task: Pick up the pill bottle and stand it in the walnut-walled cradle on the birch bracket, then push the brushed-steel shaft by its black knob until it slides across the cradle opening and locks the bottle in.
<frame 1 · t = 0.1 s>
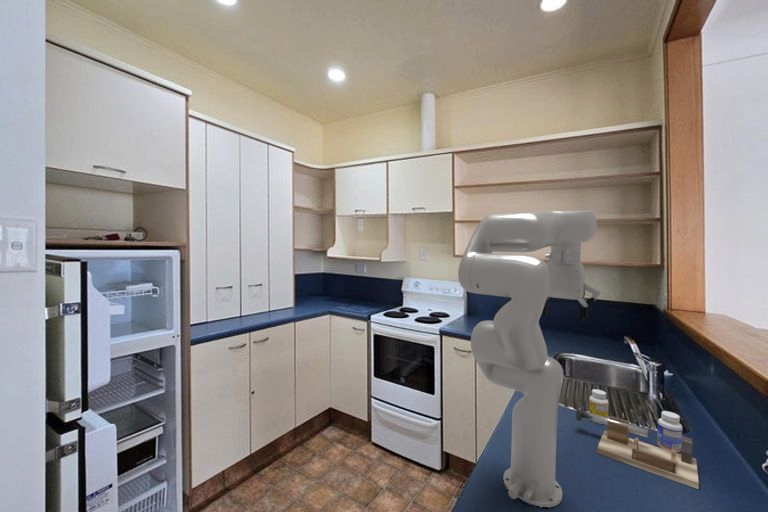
hand: (563, 318, 95), 37 cm above the worktop, tool pointing down, fingers open, 9 cm apart
shaft bracket: (654, 455, 92), on the worktop
steel shaft: (610, 422, 99), point 6 cm above the worktop, slide at 0.0 cm
supplement bottle: (598, 420, 111), on the worktop
pill bottle: (668, 448, 96), on the worktop
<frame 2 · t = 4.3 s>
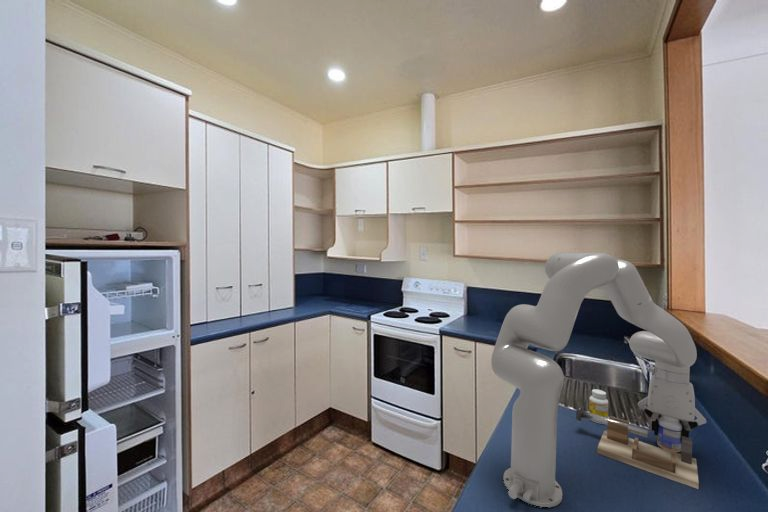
hand: (669, 437, 96), 3 cm above the worktop, tool pointing down, fingers closed on pill bottle, 5 cm apart
pill bottle: (668, 448, 96), on the worktop, touching gripper
everything else where it was.
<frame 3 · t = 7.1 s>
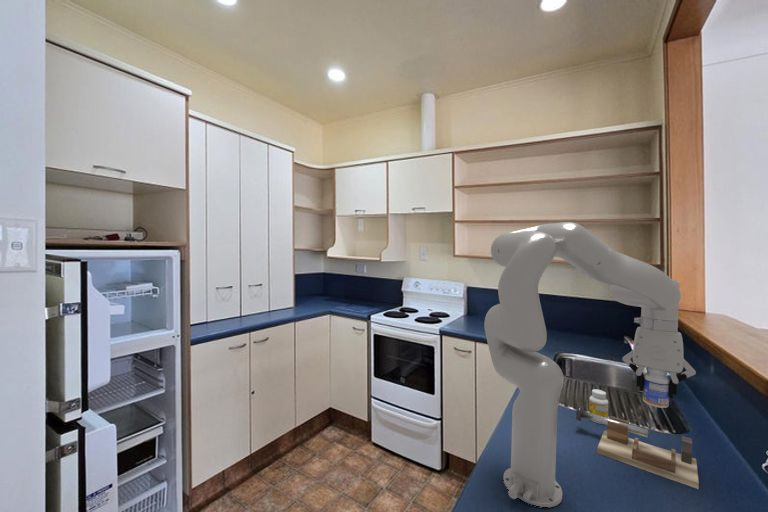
hand: (655, 392, 88), 19 cm above the worktop, tool pointing down, fingers closed on pill bottle, 5 cm apart
pill bottle: (655, 404, 88), point 16 cm above the worktop, touching gripper
everything else where it was.
when the fingers open (6 cm above the worktop, at t = 9.9 s): pill bottle drops 1 cm, resting on shaft bracket.
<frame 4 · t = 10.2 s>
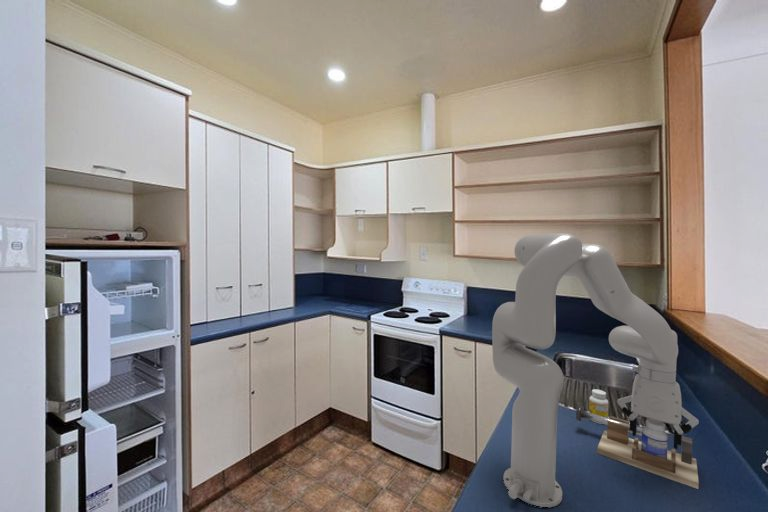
hand: (654, 439, 88), 6 cm above the worktop, tool pointing down, fingers open, 8 cm apart
pill bottle: (653, 459, 88), point 1 cm above the worktop, touching shaft bracket
everything else where it was.
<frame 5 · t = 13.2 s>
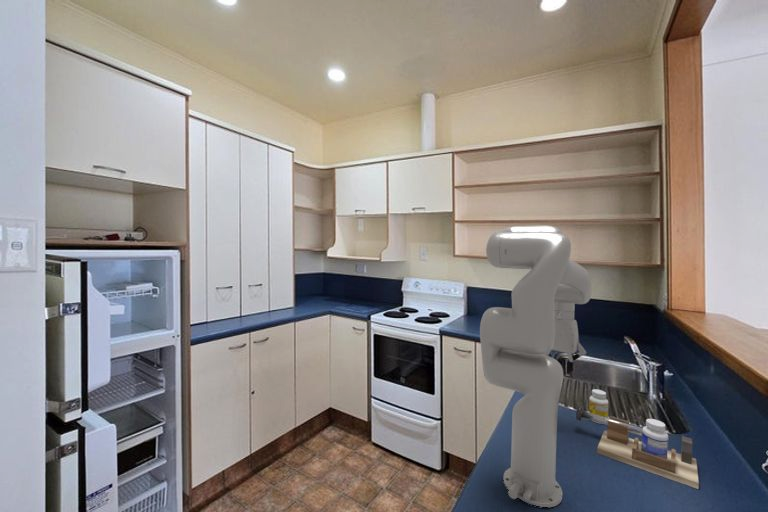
hand: (559, 370, 108), 17 cm above the worktop, tool pointing down, fingers open, 5 cm apart
nothing on the worktop moved.
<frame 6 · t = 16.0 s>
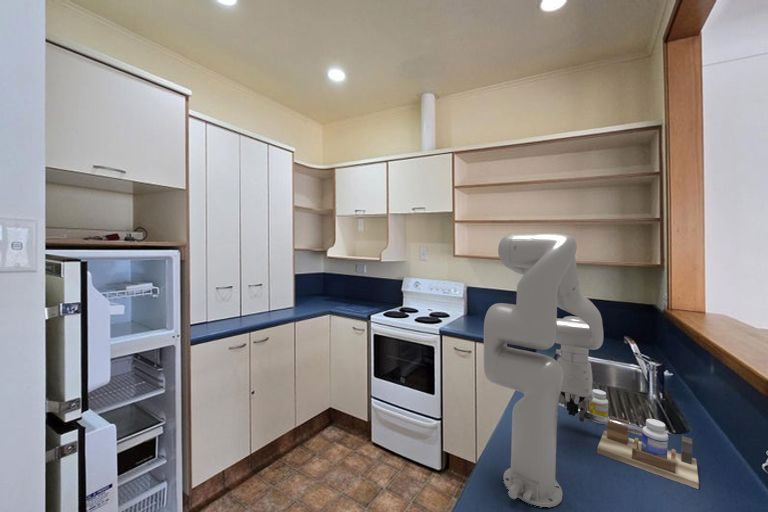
hand: (572, 413, 105), 5 cm above the worktop, tool pointing down, fingers closed
steel shaft: (614, 423, 98), point 6 cm above the worktop, slide at 0.8 cm, touching gripper
everything else where it was.
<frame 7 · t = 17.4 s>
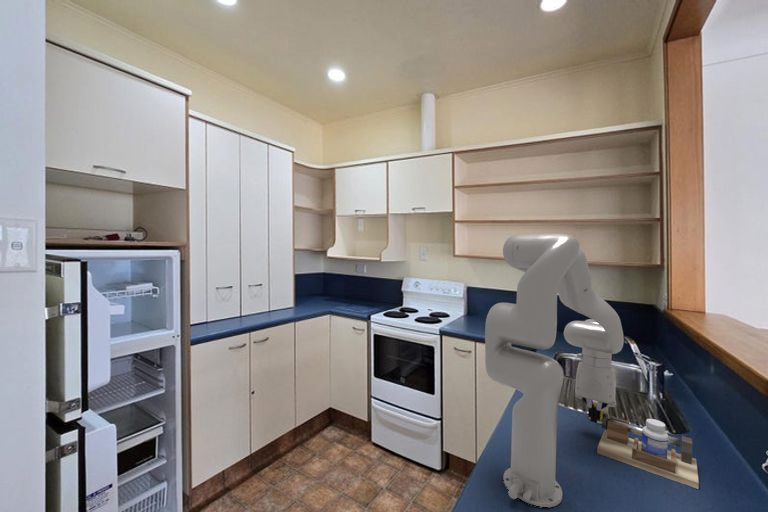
hand: (594, 420, 101), 5 cm above the worktop, tool pointing down, fingers closed
steel shaft: (639, 431, 94), point 6 cm above the worktop, slide at 6.7 cm, touching gripper
everything else where it was.
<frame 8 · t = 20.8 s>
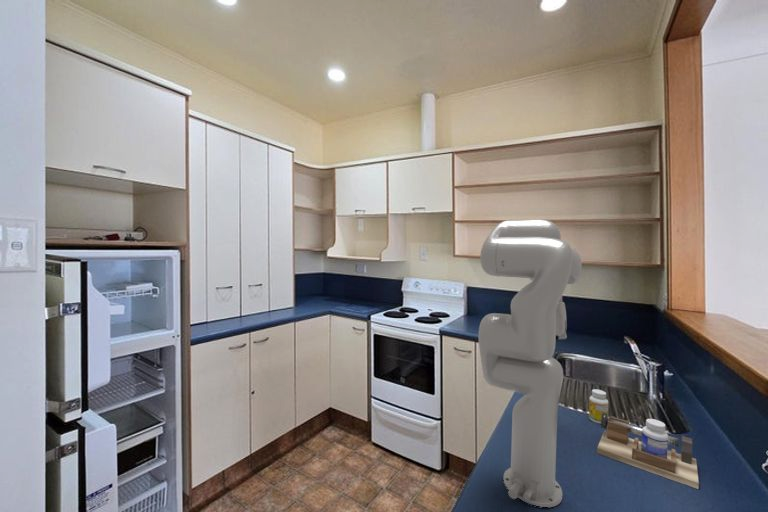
hand: (546, 354, 106), 23 cm above the worktop, tool pointing down, fingers closed
steel shaft: (638, 430, 94), point 5 cm above the worktop, slide at 6.5 cm
everything else where it was.
at the end: pill bottle 0.1 cm from the target spot, point 1.3 cm above the worktop; pill bottle tilted 0°; steel shaft slide at 6.5 cm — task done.
